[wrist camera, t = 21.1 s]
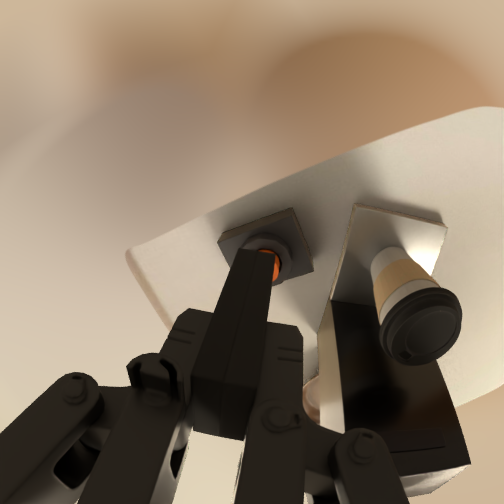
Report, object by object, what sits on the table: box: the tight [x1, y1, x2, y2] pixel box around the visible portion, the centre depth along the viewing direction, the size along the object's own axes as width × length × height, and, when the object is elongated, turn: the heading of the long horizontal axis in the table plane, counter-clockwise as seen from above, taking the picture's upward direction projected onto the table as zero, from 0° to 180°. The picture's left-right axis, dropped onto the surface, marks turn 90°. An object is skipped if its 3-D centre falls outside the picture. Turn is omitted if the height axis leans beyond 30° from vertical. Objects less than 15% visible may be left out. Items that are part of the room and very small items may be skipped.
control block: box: [217, 208, 314, 286], centre depth 39 cm, size 10×8×5 cm
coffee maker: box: [317, 203, 471, 497], centre depth 29 cm, size 22×14×28 cm, turn 173°
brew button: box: [258, 249, 280, 282], centre depth 36 cm, size 4×4×2 cm
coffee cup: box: [371, 247, 462, 366], centre depth 31 cm, size 9×9×15 cm
